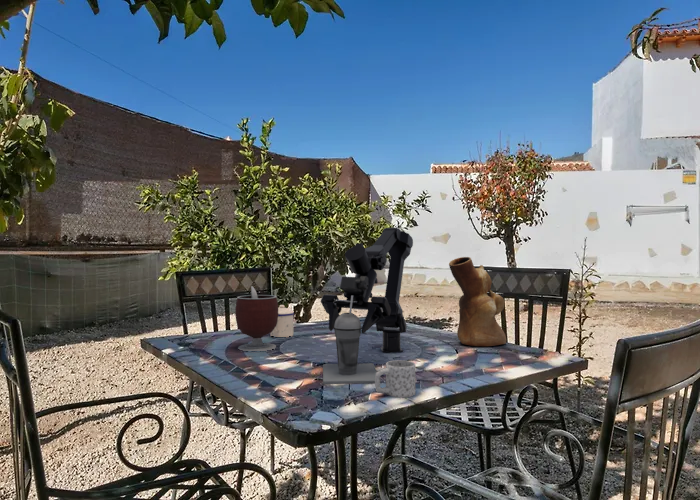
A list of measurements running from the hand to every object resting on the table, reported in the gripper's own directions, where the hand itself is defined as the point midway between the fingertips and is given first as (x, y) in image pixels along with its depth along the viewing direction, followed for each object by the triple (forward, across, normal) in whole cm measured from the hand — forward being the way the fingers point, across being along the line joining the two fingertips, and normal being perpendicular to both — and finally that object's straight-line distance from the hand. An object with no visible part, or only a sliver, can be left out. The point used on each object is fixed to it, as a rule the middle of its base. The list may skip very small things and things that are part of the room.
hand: (346, 331), depth 126 cm
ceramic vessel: (-31, +23, +48) cm, 61 cm away
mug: (+16, +17, +1) cm, 23 cm away
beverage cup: (+8, 0, +8) cm, 11 cm away
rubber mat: (+7, 0, +9) cm, 12 cm away
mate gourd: (-6, -42, +22) cm, 48 cm away
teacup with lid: (-21, -47, +37) cm, 63 cm away
